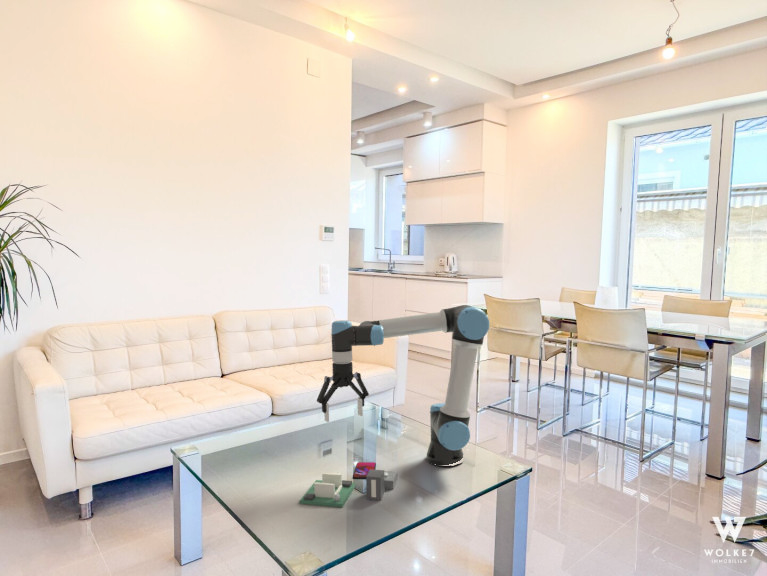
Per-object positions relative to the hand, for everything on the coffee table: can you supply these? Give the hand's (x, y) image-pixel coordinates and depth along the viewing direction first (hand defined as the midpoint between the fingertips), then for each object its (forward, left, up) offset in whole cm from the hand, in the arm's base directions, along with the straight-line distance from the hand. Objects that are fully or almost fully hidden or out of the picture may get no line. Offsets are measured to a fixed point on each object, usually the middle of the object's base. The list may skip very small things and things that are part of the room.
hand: (343, 418), depth 181 cm
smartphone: (-6, -8, -24) cm, 26 cm away
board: (+2, +14, -23) cm, 27 cm away
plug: (-15, +12, -23) cm, 30 cm away
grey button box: (-16, +2, -23) cm, 28 cm away
